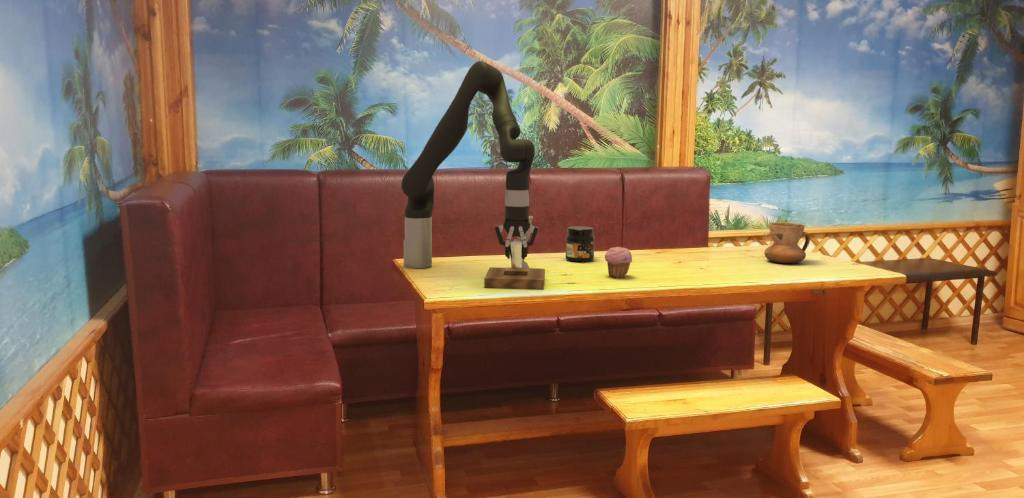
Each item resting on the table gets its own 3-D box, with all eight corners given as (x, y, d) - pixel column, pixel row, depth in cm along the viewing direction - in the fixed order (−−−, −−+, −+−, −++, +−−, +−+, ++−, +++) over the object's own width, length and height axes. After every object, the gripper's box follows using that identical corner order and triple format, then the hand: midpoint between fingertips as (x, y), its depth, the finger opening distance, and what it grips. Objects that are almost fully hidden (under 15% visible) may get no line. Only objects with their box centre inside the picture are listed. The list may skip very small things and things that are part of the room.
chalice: (530, 271, 270) (531, 218, 267) (510, 270, 271) (511, 217, 268) (534, 267, 277) (534, 216, 274) (514, 266, 278) (515, 215, 275)
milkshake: (506, 267, 253) (505, 236, 251) (523, 266, 253) (522, 235, 251) (507, 270, 248) (507, 238, 246) (524, 269, 249) (524, 237, 247)
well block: (484, 287, 243) (484, 278, 242) (489, 276, 261) (489, 267, 260) (543, 289, 242) (543, 279, 241) (544, 277, 259) (544, 268, 259)
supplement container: (564, 262, 288) (565, 229, 286) (566, 257, 298) (566, 225, 296) (593, 263, 286) (594, 230, 284) (594, 258, 297) (595, 226, 295)
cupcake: (599, 275, 265) (600, 245, 263) (620, 273, 269) (621, 244, 267) (615, 280, 257) (616, 249, 255) (636, 278, 261) (638, 247, 260)
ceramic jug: (771, 266, 286) (774, 226, 284) (754, 259, 300) (756, 221, 298) (818, 265, 289) (821, 226, 286) (799, 258, 303) (802, 221, 300)
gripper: (493, 205, 244) (492, 260, 247) (539, 205, 243) (538, 261, 246) (495, 202, 251) (494, 256, 254) (540, 203, 251) (539, 257, 253)
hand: (516, 258), depth 250 cm, fingers closed on milkshake, 4 cm apart
